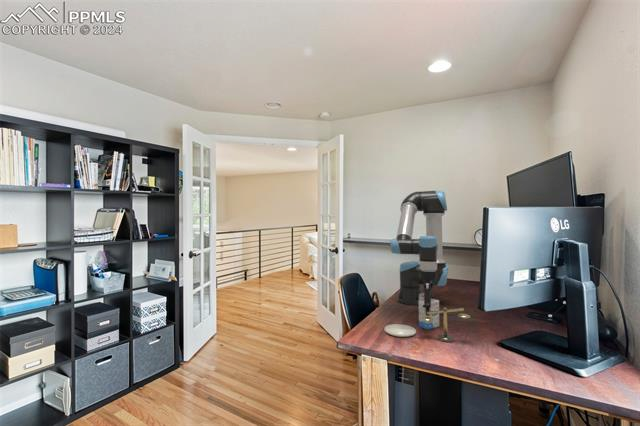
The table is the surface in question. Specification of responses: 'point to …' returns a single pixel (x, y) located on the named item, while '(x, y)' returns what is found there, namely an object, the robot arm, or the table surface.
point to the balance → (445, 322)
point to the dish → (400, 330)
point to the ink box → (435, 316)
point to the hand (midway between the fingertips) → (429, 317)
